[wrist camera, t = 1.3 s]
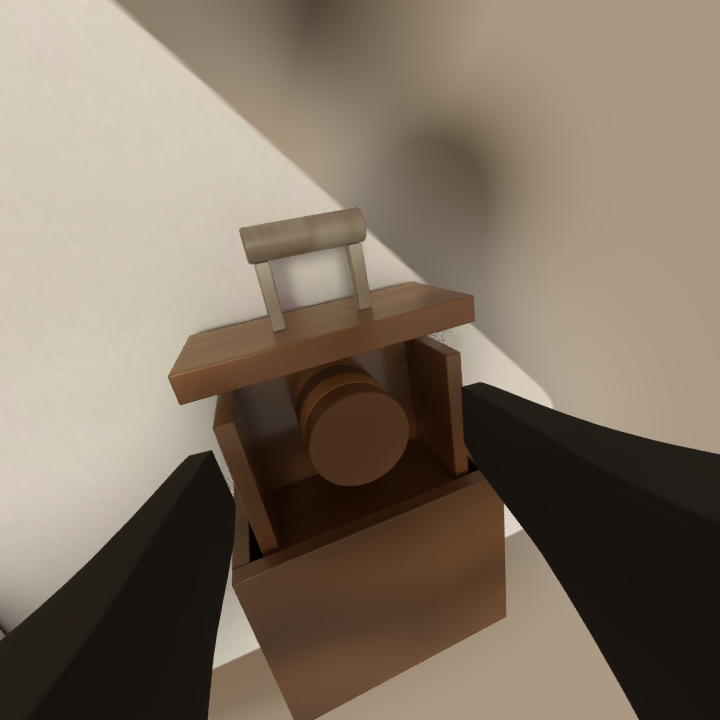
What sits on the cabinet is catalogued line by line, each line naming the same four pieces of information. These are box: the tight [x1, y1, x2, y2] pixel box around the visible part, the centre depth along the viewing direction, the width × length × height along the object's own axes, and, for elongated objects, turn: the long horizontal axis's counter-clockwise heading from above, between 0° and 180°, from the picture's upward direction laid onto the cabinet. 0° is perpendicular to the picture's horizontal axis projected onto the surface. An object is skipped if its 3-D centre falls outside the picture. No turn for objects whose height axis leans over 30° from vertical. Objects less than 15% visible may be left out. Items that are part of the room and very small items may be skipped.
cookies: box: [292, 358, 409, 486], centre depth 17 cm, size 5×5×5 cm
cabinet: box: [232, 449, 506, 720], centre depth 21 cm, size 12×14×8 cm
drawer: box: [168, 207, 475, 557], centre depth 17 cm, size 15×12×6 cm
